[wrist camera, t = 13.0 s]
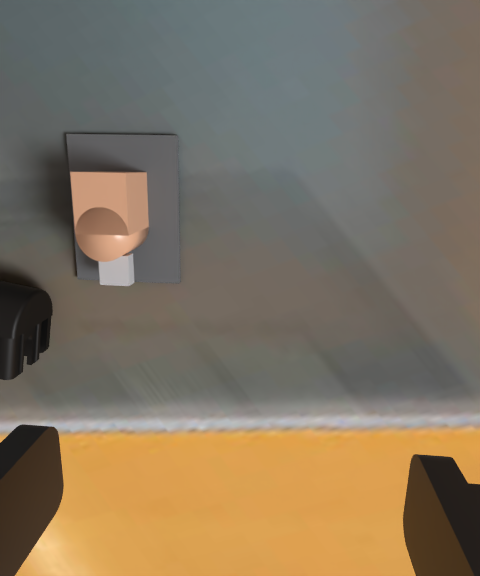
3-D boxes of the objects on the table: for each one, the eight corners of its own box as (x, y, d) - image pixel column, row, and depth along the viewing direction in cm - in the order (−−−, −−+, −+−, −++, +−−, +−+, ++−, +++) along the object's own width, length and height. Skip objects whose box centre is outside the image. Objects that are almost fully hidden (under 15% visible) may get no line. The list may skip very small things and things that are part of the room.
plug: (98, 171, 36) (70, 171, 31) (146, 172, 36) (125, 172, 31) (105, 275, 38) (79, 290, 34) (150, 277, 38) (131, 292, 33)
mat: (69, 134, 36) (66, 133, 36) (178, 135, 35) (176, 135, 35) (80, 277, 39) (77, 279, 39) (180, 282, 38) (179, 283, 38)
